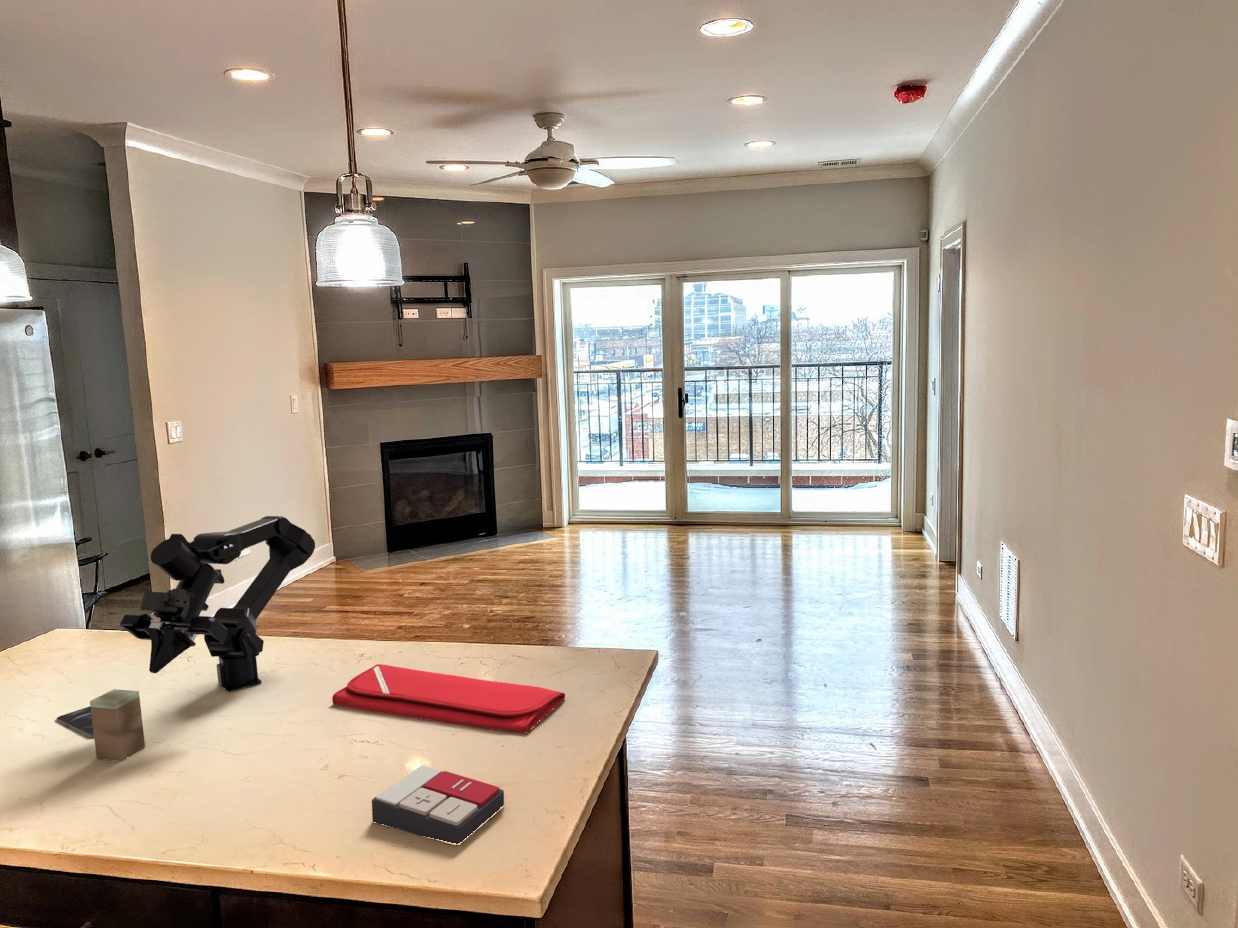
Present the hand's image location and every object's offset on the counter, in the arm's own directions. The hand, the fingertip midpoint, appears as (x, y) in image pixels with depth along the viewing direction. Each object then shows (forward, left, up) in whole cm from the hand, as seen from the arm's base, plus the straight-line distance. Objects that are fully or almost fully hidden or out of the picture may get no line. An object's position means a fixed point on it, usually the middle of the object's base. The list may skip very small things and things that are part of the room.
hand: (152, 672), depth 151 cm
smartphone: (+8, -13, -11) cm, 19 cm away
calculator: (-24, +59, -11) cm, 65 cm away
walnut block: (+7, +5, -11) cm, 14 cm away
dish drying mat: (-44, +24, -11) cm, 51 cm away
